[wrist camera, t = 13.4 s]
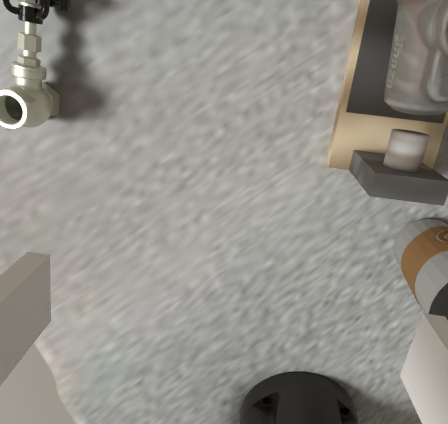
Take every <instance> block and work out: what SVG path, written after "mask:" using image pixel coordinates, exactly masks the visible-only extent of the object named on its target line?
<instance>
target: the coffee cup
mask: <svg viewBox="0 0 448 424" xmlns="http://www.w3.org/2000/svg"><path fill="white" fill-rule="evenodd" d="M394 253H395V256H396V259H397V261H398V263H399V265H400V267H401V269H402V272H403V274H404V277H405V278H406V280H407V282H408V284H409V286H410V288H411V290H412V292H413V294H414V296H415V298H416V300H417V302H418V304H419V305H420V306H421V307H422V309H423V311H424V313H425V314H432V315H438V316H445V317H446V319H447V320H448V225H447V224H446V223H444V222H442V221H439V220H436V219H422V220H417V221H415V222H412V223H410V224H409V225H407V226H406V227H404V228H403V230H402V231H401V232H400V233H399V235H398V237H397V239H396V241H395V246H394Z"/></svg>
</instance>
